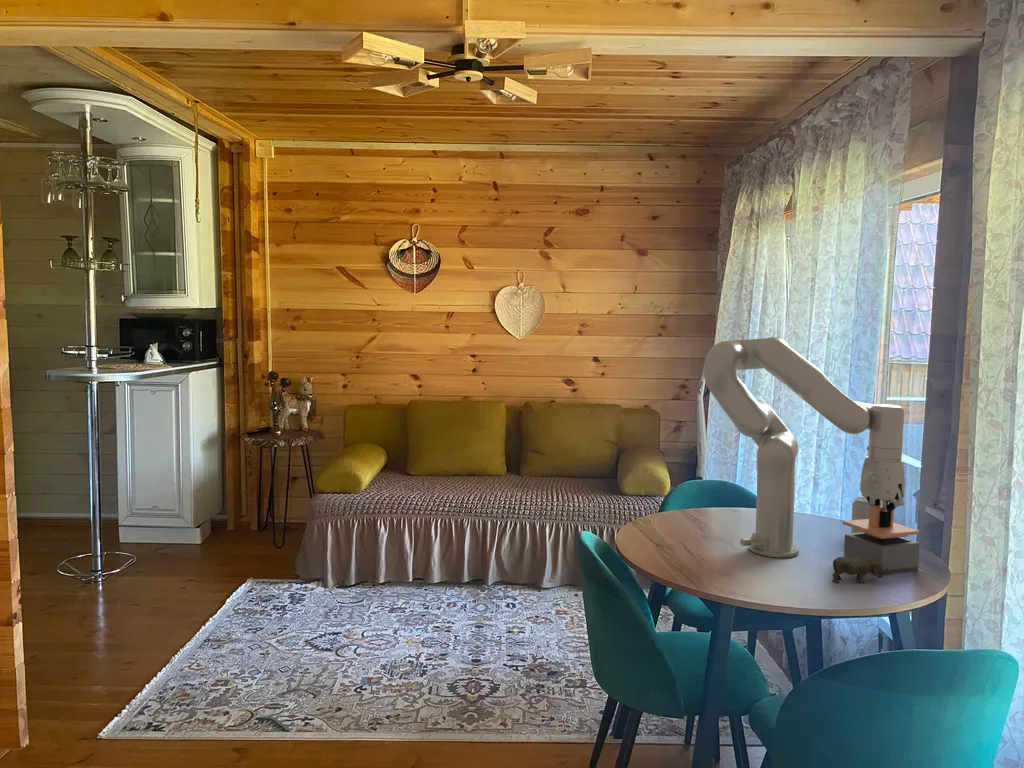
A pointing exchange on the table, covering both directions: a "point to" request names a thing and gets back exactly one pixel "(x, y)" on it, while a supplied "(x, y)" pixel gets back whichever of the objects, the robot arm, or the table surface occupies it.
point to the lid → (875, 530)
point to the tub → (884, 551)
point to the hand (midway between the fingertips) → (880, 524)
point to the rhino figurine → (856, 568)
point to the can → (860, 510)
